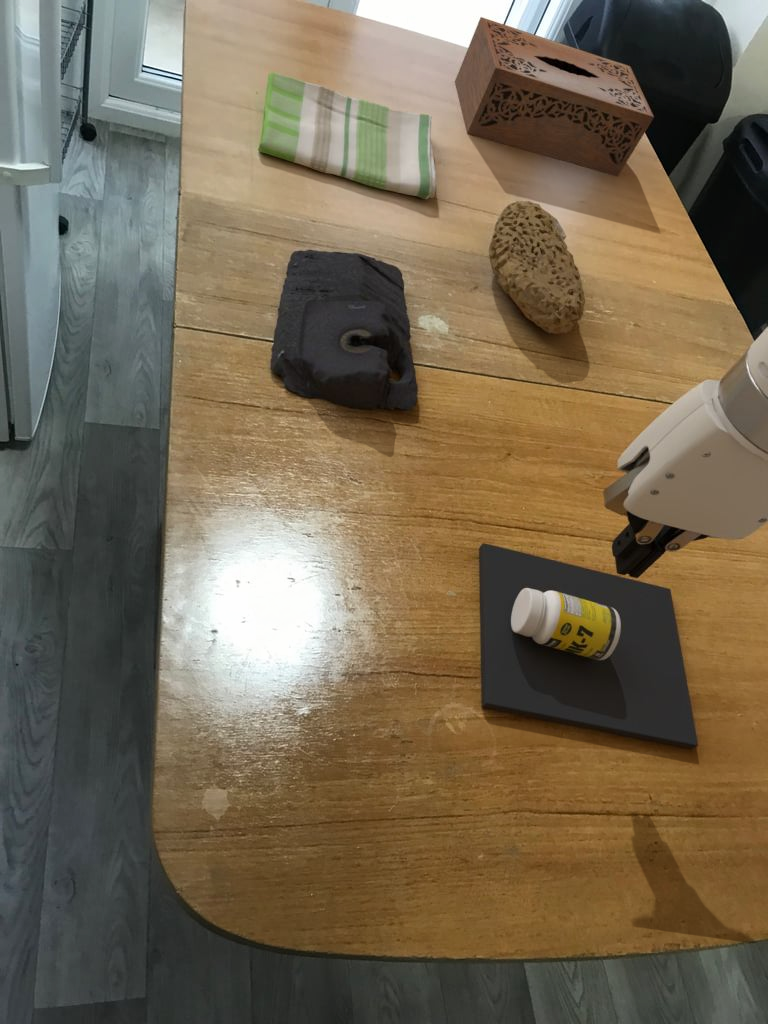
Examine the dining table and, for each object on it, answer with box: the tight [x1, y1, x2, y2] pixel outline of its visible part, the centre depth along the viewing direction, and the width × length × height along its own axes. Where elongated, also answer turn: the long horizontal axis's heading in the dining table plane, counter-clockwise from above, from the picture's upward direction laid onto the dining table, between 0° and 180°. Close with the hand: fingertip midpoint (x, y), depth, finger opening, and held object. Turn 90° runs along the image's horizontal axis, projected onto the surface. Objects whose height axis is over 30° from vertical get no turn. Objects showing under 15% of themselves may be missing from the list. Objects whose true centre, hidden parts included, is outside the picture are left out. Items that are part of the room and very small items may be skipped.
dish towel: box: [257, 71, 437, 200], centre depth 110 cm, size 17×23×4 cm
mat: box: [478, 542, 699, 750], centre depth 76 cm, size 20×16×1 cm
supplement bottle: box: [511, 588, 621, 660], centre depth 72 cm, size 5×5×8 cm
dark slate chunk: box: [269, 249, 419, 411], centre depth 88 cm, size 15×22×5 cm
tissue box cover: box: [454, 16, 655, 177], centre depth 127 cm, size 26×14×10 cm, turn 95°
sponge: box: [488, 200, 586, 335], centre depth 103 cm, size 13×8×20 cm
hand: (624, 560), depth 65 cm, fingers closed
